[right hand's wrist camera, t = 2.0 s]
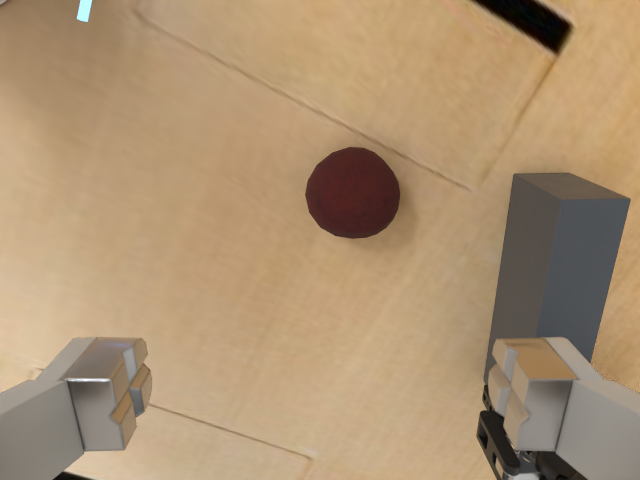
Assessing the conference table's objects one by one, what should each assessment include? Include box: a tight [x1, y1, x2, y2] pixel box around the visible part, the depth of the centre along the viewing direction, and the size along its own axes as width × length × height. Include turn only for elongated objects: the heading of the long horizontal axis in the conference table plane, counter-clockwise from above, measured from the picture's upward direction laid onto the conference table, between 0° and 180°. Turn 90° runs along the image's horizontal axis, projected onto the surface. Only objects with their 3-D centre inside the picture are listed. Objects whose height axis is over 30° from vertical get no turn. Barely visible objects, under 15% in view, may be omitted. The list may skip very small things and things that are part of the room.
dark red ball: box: [305, 147, 400, 239], centre depth 37 cm, size 7×8×7 cm
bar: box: [484, 173, 631, 385], centre depth 41 cm, size 23×5×8 cm, turn 1°
